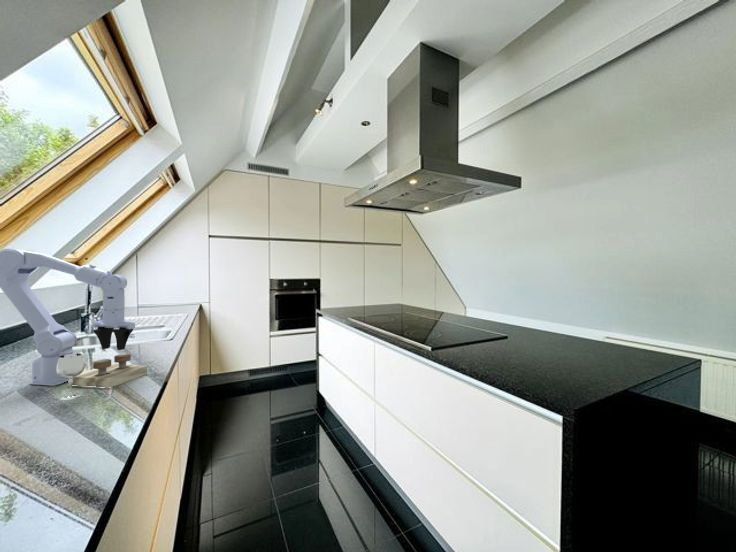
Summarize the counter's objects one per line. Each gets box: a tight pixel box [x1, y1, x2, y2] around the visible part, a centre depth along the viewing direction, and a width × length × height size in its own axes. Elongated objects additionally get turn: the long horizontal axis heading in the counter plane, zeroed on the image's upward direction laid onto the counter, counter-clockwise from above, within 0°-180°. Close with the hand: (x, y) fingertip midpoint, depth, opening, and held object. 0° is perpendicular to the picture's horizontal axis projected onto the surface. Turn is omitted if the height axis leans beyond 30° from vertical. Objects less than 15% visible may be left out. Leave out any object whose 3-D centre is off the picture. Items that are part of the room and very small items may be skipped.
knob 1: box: [92, 358, 112, 376], centre depth 97 cm, size 4×4×5 cm
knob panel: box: [72, 363, 148, 389], centre depth 101 cm, size 14×14×3 cm
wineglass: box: [56, 352, 86, 398], centre depth 87 cm, size 6×6×12 cm
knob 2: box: [113, 353, 132, 369], centre depth 104 cm, size 4×4×5 cm
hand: (113, 349), depth 104 cm, fingers open, 5 cm apart
